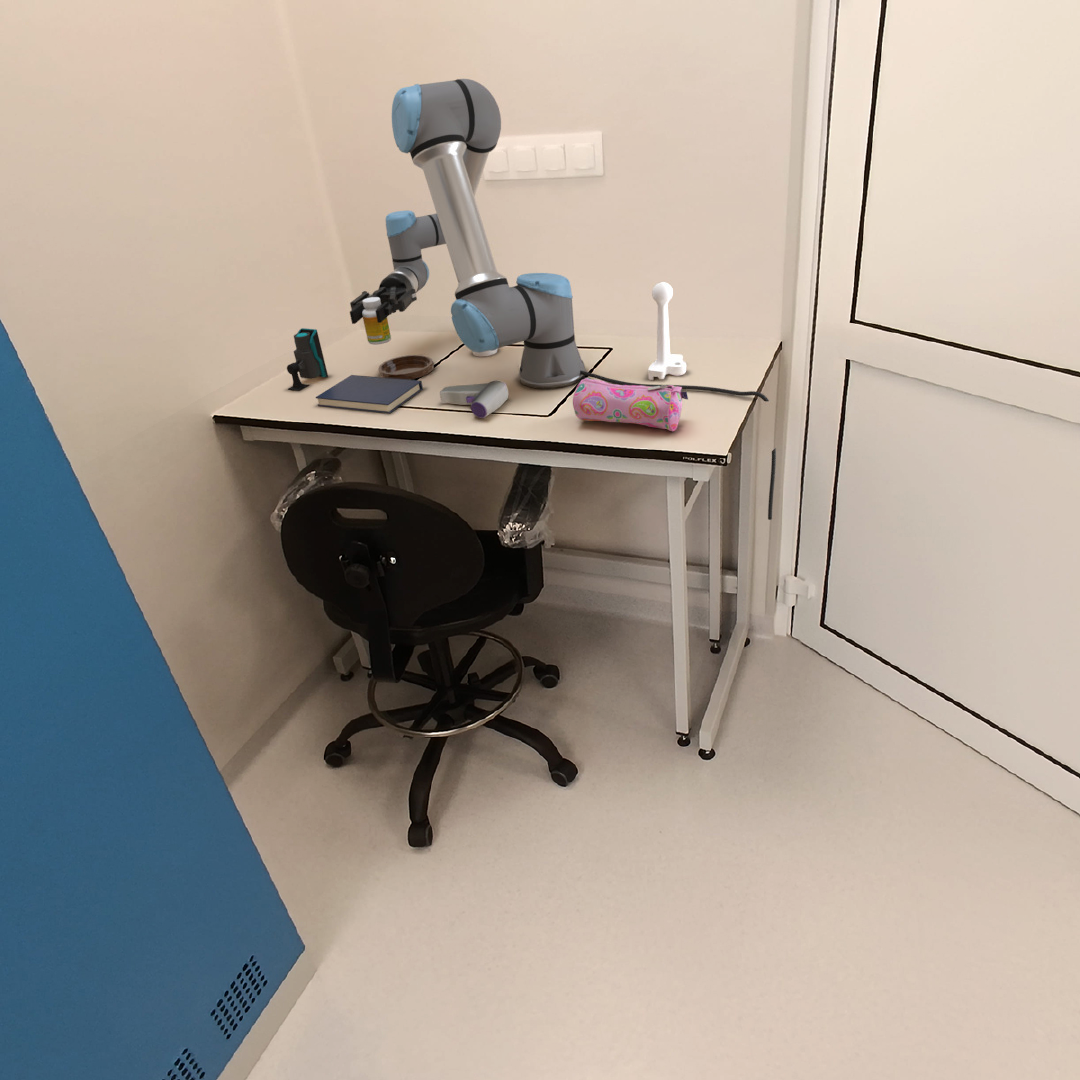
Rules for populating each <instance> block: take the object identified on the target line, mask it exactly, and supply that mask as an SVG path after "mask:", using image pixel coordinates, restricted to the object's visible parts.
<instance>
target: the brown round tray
mask: <svg viewBox="0 0 1080 1080" xmlns="http://www.w3.org/2000/svg"><path fill="white" fill-rule="evenodd" d="M434 368H435V365H434V360H433V358H432V357H430V356H428V355H423V354H410V355H409V354H408V355H401V356H397V357H393V358H390V359H388V360H386V361H384V362H382V363H381V364H379V366H378V374H379V377H383V378H396V379H408V380H416V379H418V378H422V377H423V376H426V375H428V374H430V373H431V372H433V370H434Z"/></svg>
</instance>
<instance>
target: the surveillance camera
mask: <svg viewBox="0 0 1080 1080" xmlns="http://www.w3.org/2000/svg"><path fill="white" fill-rule="evenodd" d="M293 339H294V345H295V349H294V350H293V355H294V359H295V362H292V363H289V364H288V365H287V366H286V371H287V373H288V374H290V375H291V378H292V386H290V387H288V388H287V390H289V391H293V392H294V391H295V392H300V391H302V390H305V389H306V388H307V387H309V386H310V384H305V383H302V382H301V379H307V380H313V379H316V378H318V377H319V378H329V375H328V369H327V366H326V362H325V357H324V353H323V349H322V345H321V341H320V337H319V333H318V329H316V328H306V327H302V328H300V329H299V330H298V331H297V333H295V334H294V335H293Z"/></svg>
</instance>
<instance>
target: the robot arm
mask: <svg viewBox="0 0 1080 1080" xmlns="http://www.w3.org/2000/svg"><path fill="white" fill-rule="evenodd" d="M391 105H392V106H391V128H392V134H393V139H394V142H395V144H396V147H397V148H398V150H399V151H400V152H401V153H402V154H403V153H405V154H409V155H410V157H411V161H412V163H413V165H414V166H416V167H417V168H419V169H420V170H422V172H423V175H424V177H425V181H426V185H427V187H428V191H429V193H430V196H431V200H432V203H433V206H434V210H435V213H432V214H426V215H422V216H421V215H420V216H416V214H415V212H414V211H412V210H408V209H407V210H406V209H405V210H397V211H393V212H390V213H388V214H387V215H386V216H385V229H386V236H387V241H388V245H389V250H390V254H391V261H392V266H393V271H392V272H390V273H389V274H387V276H385V277H384V278H383V279H382V280H381V281H380V284H379V286H378V289H376V290H374V291H373V292H372V293H370V292H368V291H367V290H364V291H362V292H361V294H359V296H357V297H355V298H354V299H353V300H352V301H351V302H349V304H350V311H349V316H350V321H351V324H352V325H355V324H358V322H359V321H360V320H361V319H363V316H362V312H363V310H364V309H365V308H364V306H363V300H364V299H366V298H371V297H378V298H380V301H381V305H380V307H379V308H378V309H377V310H376V316H377V321H378V323H381V322H382V321H383V320H384V319H385V318H386V317H387V318H389V316H390V315H392V314H395V313H397V311H399V312H400V313H402V312H405V311H406V310H407V309H408V307H410V305H411V304H412V303H413V302H415V301H418V299H417V293H418V292H419V291H421V290H422V289H423V288H424V287H425V286H426V284H427V283H428V280H429V278H430V269H429V266H428V264H427V263H426V262H425V261H424V260H423V256H422V250H425V249H428V248H433V247H437V246H442V245H446V247H447V251H448V254H449V258H450V260H451V264H452V267H453V271H454V274H455V276H456V279H457V283H458V284H457V287H456V289H455V291H454V297H455V301H454V302H453V303H452V304H451V306H450V314H451V322H452V325H453V328H454V330H455V332H456V334H457V336H458V338H459V340H460V341H461V342H462V343H463V345H464V346H465V347H467V348H468V349H469V350H470V351H471V352H472V351H474V352H478V353H480V352H485V351H493V350H496V349H497V350H498V349H501V348H504V347H507V346H511V345H514V344H519V343H521V342H523V351H522V355H521V359H520V360H521V361H520V366H519V367H517V369H518V370H517V371H518V374H519V375H518V376H519V377H518V378H519V382H520V384H522V385H524V386H526V387H529V388H533V389H541V390H542V389H543V390H545V389H546V390H547V389H549V390H550V389H559V388H563V387H567V386H572V385H574V384H576V383H578V382H581V380H583V379H585V376H586V377H588V378H592V379H595V380H601V381H604V382H606V383H610V384H615V385H635V386H649V387H655V386H661V385H662V384H652V383H651V384H650V383H635V382H629V381H623V380H618V379H614V378H609V377H605V376H604V375H603V376H602V375H599V374H595V373H592V372H589V371H586V367H585V363H584V361H583V360H582V357H581V354H580V352H579V348H578V347H577V343H576V338H575V337H576V336H575V323H574V321H575V320H574V308H573V292H572V287H571V281H570V280H569V279H568V278H567V277H566V276H564V275H562V274H558V273H549V272H529V273H523V274H521V275H518V276H517V278H516V282H515V283H516V285H514V286H510V285H509V282H508V279H507V276H505V275H503V274H501V273H500V272H499V271H498V270H497V267H496V264H495V263H496V262H495V260H494V257H493V254H492V250H491V247H490V244H489V240H488V237H487V234H486V229H485V227H484V224H483V221H482V218H481V214H480V210H479V207H478V204H477V201H476V197H475V196H476V193H477V190H478V187H479V184H480V182H481V178H482V175H483V172H484V169H485V166H486V163H487V160H488V157H489V154H490V153H491V152H493V151H494V150H495V149H496V147H497V145H498V141H499V139H500V135H501V131H502V118H501V112H500V108H499V105H498V103H497V101H496V99H495V97H494V96H493V94H492V93H491V91H490V90H489V89H488V88H486V87H485V86H484V85H483V84H481V83H480V82H477V81H476V80H473V79H470V78H457V79H455V80H445V81H438V82H430V83H422V84H419V83H415V84H414V85H410V86H406V87H401V88H399V89H398V90H397V92H396V93H395V94H394V97H393V100H392V104H391ZM665 385H666V386H668V385H669V384H665ZM672 385H673V386H676V387H677V386H678V387H682V389H681V390H691V391H693V390H694V391H705V392H706V391H707V392H712V393H713V392H714V393H721V394H726V395H733V396H741V397H747V396H750V397H751V396H756V397H758V398H760V399H761V400H762V401H764V402H769V401H770V399H769V398H768V397H767V396H766V395H764V393H762V392H759V391H756V390H755V391H754V390H751V391H750V390H749V391H740V390H731V389H727V388H719V387H712V386H701V385H686V384H685V385H683V384H682V385H681V384H672ZM776 462H777V447H774V449H773V450H771V468H770V480H769V481H770V482H769V492H768V508H767V520H769V521H772V520H773V502H774V490H775V479H776V464H777V463H776Z"/></svg>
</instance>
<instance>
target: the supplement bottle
mask: <svg viewBox="0 0 1080 1080" xmlns="http://www.w3.org/2000/svg"><path fill="white" fill-rule="evenodd" d="M380 305H381V301H380V298H378V297H371V298H366V299H364V300H363V306H364V308H365V309H364V310H363V312H362V316H363V317H362V320H363V321H362V322H363V324H364V330H365V334H366V340H367V343H368V344H370V345H375V346H377V345H383V344H387V343H389V342H390V341H391V340H392V335H391V330H390V326H389V325H390V324H389V320H388V317H386V318H385V319H384V320H383V321H382V322H381V323H378V321H377V316H376V310H377V309H378V308H379V307H380Z"/></svg>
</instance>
